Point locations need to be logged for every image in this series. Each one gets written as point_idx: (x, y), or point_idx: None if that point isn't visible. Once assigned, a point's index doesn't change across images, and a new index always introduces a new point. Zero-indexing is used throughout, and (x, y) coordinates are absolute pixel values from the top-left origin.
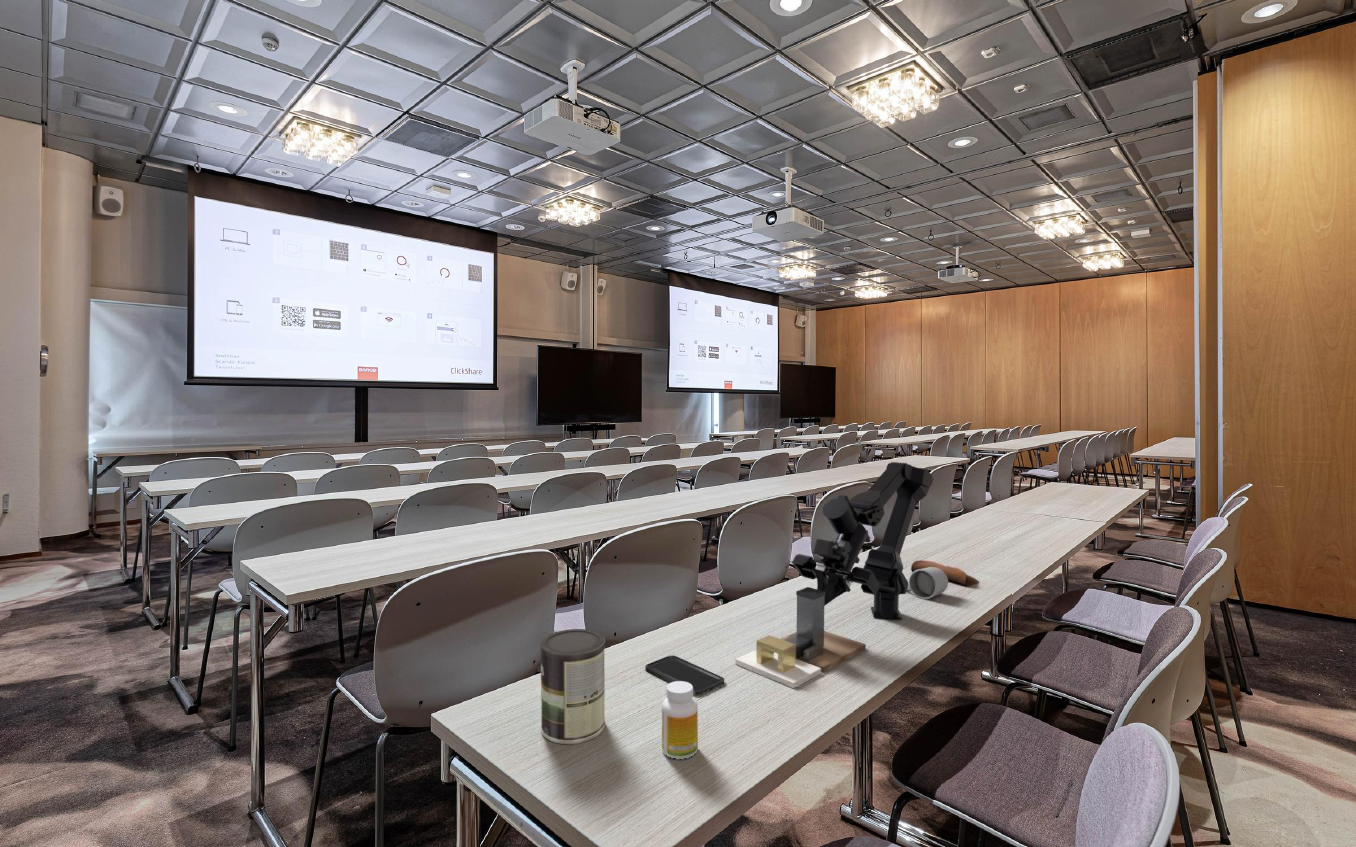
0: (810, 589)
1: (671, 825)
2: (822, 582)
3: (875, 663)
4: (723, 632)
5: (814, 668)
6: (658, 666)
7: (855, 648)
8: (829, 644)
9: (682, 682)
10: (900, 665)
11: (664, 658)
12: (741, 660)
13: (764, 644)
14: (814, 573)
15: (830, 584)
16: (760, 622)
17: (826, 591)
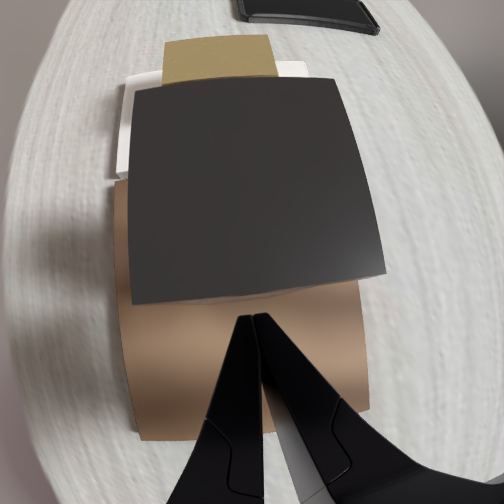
0: (305, 223)
1: None
2: (335, 479)
3: (64, 360)
4: (460, 180)
5: (128, 157)
6: (350, 5)
7: (134, 387)
8: (211, 346)
9: None
10: (31, 394)
11: (373, 20)
12: (289, 64)
13: (235, 37)
14: (492, 482)
15: (211, 500)
16: (472, 311)
17: (227, 421)
